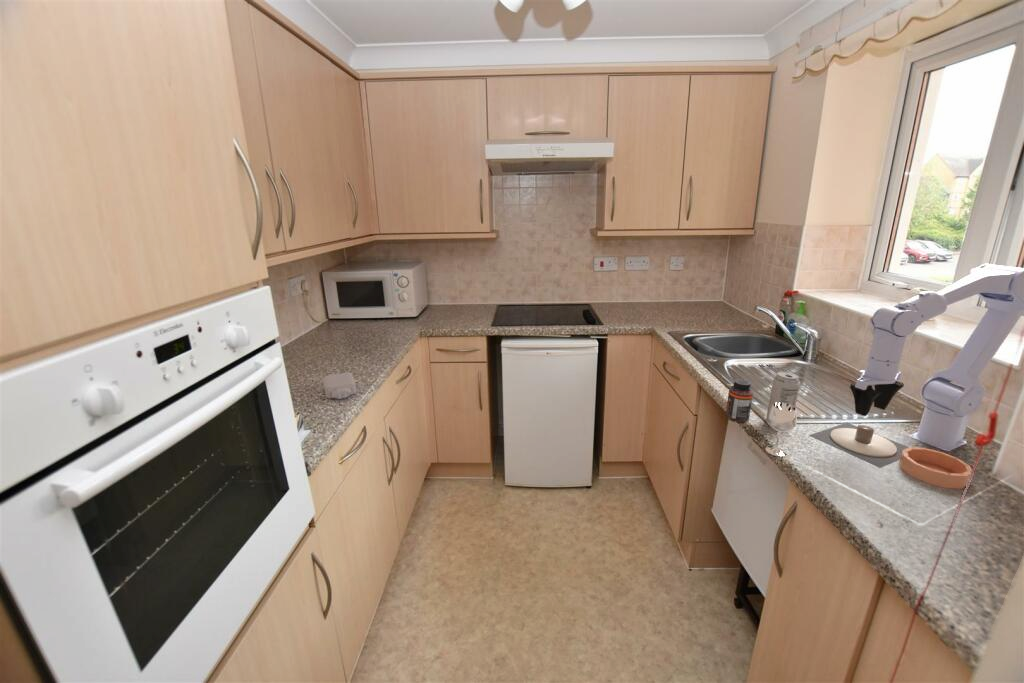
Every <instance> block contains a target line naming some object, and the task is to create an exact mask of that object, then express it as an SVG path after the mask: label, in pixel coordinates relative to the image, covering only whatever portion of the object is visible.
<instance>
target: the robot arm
mask: <svg viewBox="0 0 1024 683" xmlns="http://www.w3.org/2000/svg"><path fill="white" fill-rule="evenodd" d="M976 295H978V297H979V298H980V299H981V300H982V301H983V302H985V304H986V306H987V308H988V309H987V310H986V312H985V313H984V315H983V316H982V317H981V320H980V321H979V323H978V324H977V325H976V327H975V328H974V330H973V331H972V333H971V334H970V336H969V338H968V339H967V341H966V342H965V344H964V345H963V346H962V348H961V349H960V351H959V353H958V354H957V355H956V357H955V358H954V361H952V363H951V365H949V367H947V368H945V369H940V370H936V371H934V372H933V374H932V376H931V377H930V378H928V379H927V380H926V381H924V383H922V385H921V387H920V389H919V394H920V397H921V398H922V399H923V402H922V404H923V405H925V406H924V410H923V412H922V413H923V414H922V416H921V420H920V423H919V427H918V429H917V431H916V432H914V433H912V434H909V435H908V437H909V438H911V439H914V440H916V441H919V442H922V443H924V444H927V445H930V446H932V447H934V448H938V449H940V450H943V451H945V452H950V451H953V450H954V449H957V448H959V447H962V446H963V445H964V446H965V445H967V444H968V442H967V441H965V440H963V439H964V436H965V433H966V431H967V427H968V425H969V421H970V417H969V416H970V415H973V414H974V413H976V412H977V411H978V410H979V409H980V407H981V406H982V402H983V397H984V395H985V394H986V392H987V389H986V387H985V385H984V384H983V383H982V382H981V380H980V377H981V376H982V374H983V373H984V371H985V370H986V368H987V367H988V365H989V364H990V362H991V360H993V358H994V356H995V355H996V354H997V352H998V350H999V349H1000V347H1002V345H1003V343H1004V342H1005V341H1006V339H1007V337H1008V336H1009V334H1010V333H1011V332H1012V330H1013V329H1014V327H1015V326H1016V324H1017V323H1018V322H1019V320H1020V319H1021V317H1022V315H1023V314H1024V267H1014V266H1006V265H998V264H993V263H983V264H980V265H979V266H977V267H975V268H971V269H970V271H969V272H968V274H967V276H964V277H963V278H961V279H959V280H958V281H955V282H954V283H952V284H950V285H949V286H946V287H944V288H943V289H940V290H939V291H936V292H935V291H928V290H927V291H925V290H922V291H921V292H918V295H916V296H913V297H911V298H909V299H907V300H905V301H901V302H898V304H896V305H894V306H891V305H890V306H883V307H881V308H878V309H877V310H876V311H875V312H874V313H873V315H872V316H871V317H870V318H869V322H870V325H871V328H872V331H871V335H872V341H871V345H870V349H869V353H868V357H867V360H866V366H865V369H862V370H859V371H858V374H859V375H860V377H858V378H857V379H856V380H855V382H853V383H852V382H851V383H850V386H849V389H850V391H851V392H852V396H853V399H854V409H855V414H857V415H861V416H863V417H867V415H868V414H869V412H870V411H871V407H872V406H873V407H875V408H877V409H879V410H882V411H884V410H886V409H887V407H888V405H889V404H890V402H892V399H893V397H895V395H896V394H897V393H898V392H899V391H900V390H902V388H904V385H905V384H904V383H903V382H901V381H899V380H901V376H902V372H901V371H899V366H900V363H901V359H902V357H903V356H902V355H903V351H904V348H905V344H906V341H907V337H908V336H909V335H912V334H913V333H914V332H915V331H916V330H917V329H918V328H919V326H921V325H922V324H923V323H924V322H926V321H928V320H931V319H933V318H935V317H938V316H939V315H942V314H944V313H945V312H946V311H947V307H948V306H950V305H952V304H954V303H958V302H960V301H963V300H965V299H967V298H971V297H973V296H976ZM953 382H954V383H953ZM873 386H874V388H873Z"/></svg>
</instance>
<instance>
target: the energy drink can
mask: <svg viewBox="0 0 1024 683" xmlns="http://www.w3.org/2000/svg"><path fill="white" fill-rule="evenodd" d="M799 378H800V377H799V375H798V374H796V373H793V372H789V371H779V372H776V375H775V376H774V377H773V379H772V385H771V390H770V395H769V400H768V406H767V412H766V417H765V422H766V424H767V425H768V426H769V427H770V425H769V423H768V415H769V412H770V409H771V407H772V405H773V404H774V403H777V402H781V403H787V404H790V405H792V406H794V407H795V408H796V406H797V402H798V397H799V391H800V388H801V381H800V379H799Z"/></svg>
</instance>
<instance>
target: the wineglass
mask: <svg viewBox="0 0 1024 683" xmlns="http://www.w3.org/2000/svg"><path fill="white" fill-rule="evenodd" d="M797 413H798V412H797V408H796V407H794V406H792V405H790V404H787V403H781V402H777V403H774V404H773V405H772V407H771V409H770V412H769V415H768V423H769V425H770V426H769V425H768V426H769V427H770V428H771V429H773V430H774V431H776V432H777V433H776V442H775V445H774V446H765V452H767V453H768V454H770V455H772V456H775V457H785V456H787V453H785V452H783V450H782V449H781V448H779V442H780V439H781V437H782V433H788V432H789V433H790V432H792V431H793V430H794V429H795V427H796V425H797V420H798V419H797V415H798V414H797Z"/></svg>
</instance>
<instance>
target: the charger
mask: <svg viewBox="0 0 1024 683" xmlns="http://www.w3.org/2000/svg"><path fill="white" fill-rule="evenodd" d="M322 380H323V386H324V394H325V398H326V399H346V398H347V397H349V396H353V395H355V394H356V393H357V387H356V386H357V384H356V381H355V379H354V374H353V373H352V372H342V373H335V374H329V375H324V376H323V378H322Z"/></svg>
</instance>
